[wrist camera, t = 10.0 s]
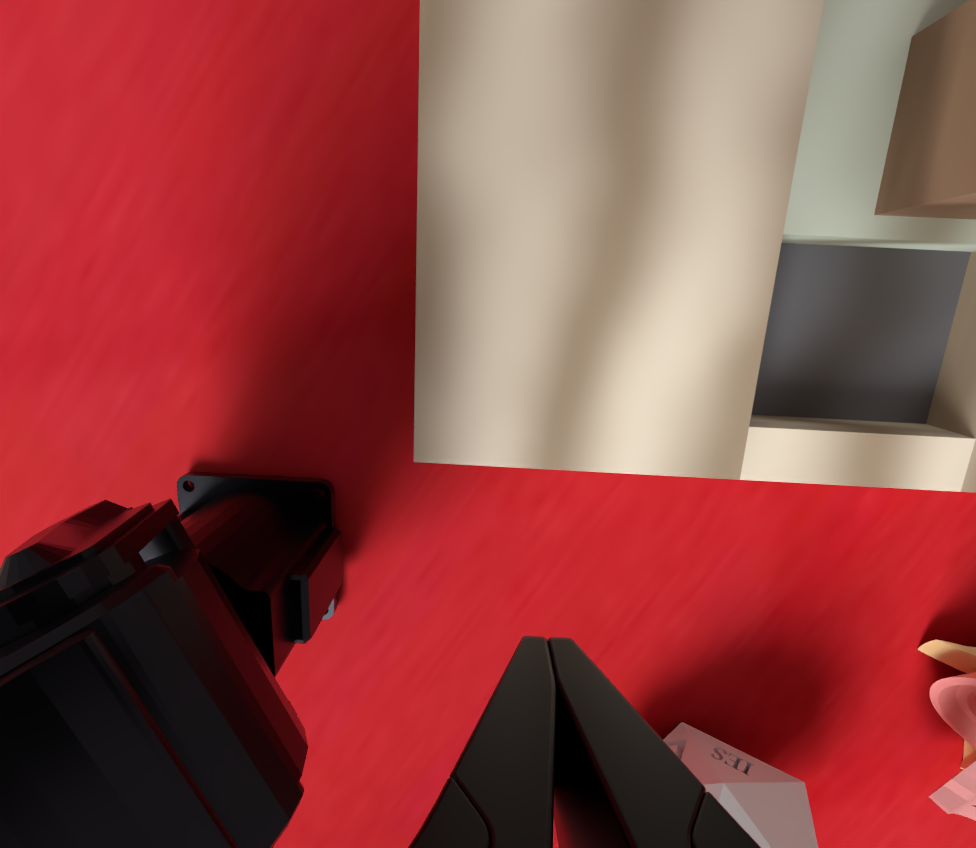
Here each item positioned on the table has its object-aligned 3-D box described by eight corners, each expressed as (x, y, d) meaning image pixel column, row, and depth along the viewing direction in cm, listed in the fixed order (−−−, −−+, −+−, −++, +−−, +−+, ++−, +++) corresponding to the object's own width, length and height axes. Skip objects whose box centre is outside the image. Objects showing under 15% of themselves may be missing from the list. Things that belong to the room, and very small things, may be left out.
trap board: (423, 443, 21) (397, 491, 16) (437, -313, 16) (404, -631, 10) (981, 473, 21) (1144, 532, 16) (1206, -289, 15) (1583, -603, 10)
